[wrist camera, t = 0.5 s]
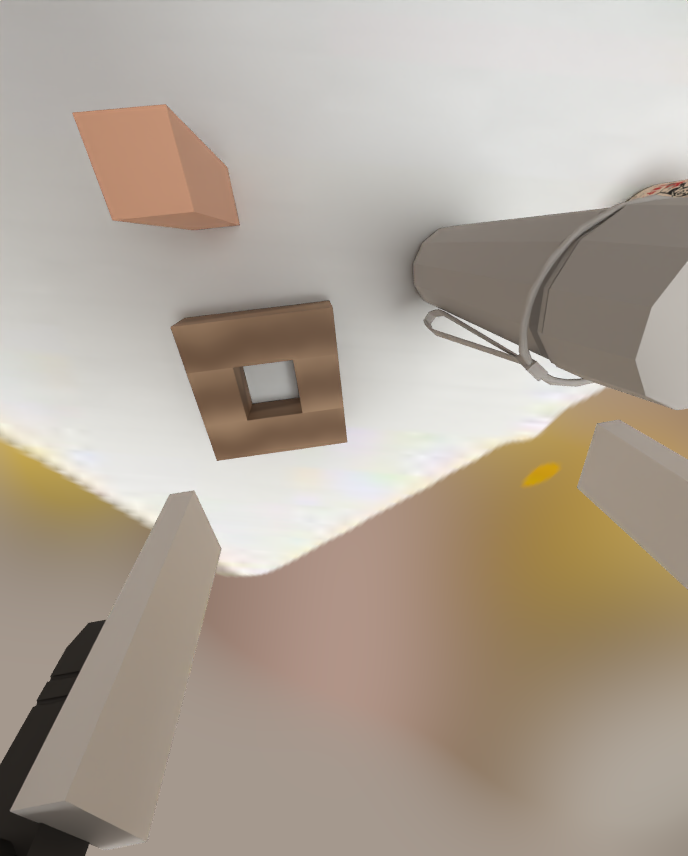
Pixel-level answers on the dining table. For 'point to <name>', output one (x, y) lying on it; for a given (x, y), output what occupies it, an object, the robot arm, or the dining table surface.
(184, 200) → the peg
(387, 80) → the dining table surface
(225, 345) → the socket block
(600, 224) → the water bottle
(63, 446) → the dining table surface
